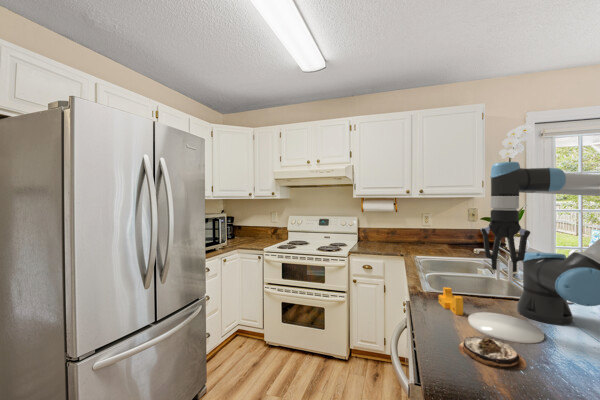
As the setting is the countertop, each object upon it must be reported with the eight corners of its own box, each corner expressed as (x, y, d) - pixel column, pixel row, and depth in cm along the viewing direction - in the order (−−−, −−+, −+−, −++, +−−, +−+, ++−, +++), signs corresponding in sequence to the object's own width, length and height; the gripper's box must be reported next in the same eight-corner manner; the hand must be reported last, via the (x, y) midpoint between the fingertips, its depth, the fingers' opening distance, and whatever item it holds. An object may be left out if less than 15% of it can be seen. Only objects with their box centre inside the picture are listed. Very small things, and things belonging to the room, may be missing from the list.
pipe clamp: (438, 302, 113) (438, 287, 113) (449, 303, 113) (449, 287, 113) (450, 314, 101) (450, 297, 101) (463, 315, 101) (463, 298, 101)
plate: (532, 322, 95) (532, 319, 95) (554, 351, 77) (555, 347, 77) (465, 311, 104) (465, 308, 104) (471, 335, 86) (471, 331, 86)
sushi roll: (532, 379, 64) (532, 361, 64) (459, 362, 72) (459, 346, 72) (519, 348, 77) (518, 333, 77) (458, 337, 84) (457, 323, 84)
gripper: (531, 209, 90) (530, 280, 90) (474, 208, 97) (474, 274, 97) (539, 210, 83) (538, 287, 83) (477, 209, 90) (476, 280, 91)
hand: (503, 280), depth 90 cm, fingers open, 3 cm apart
